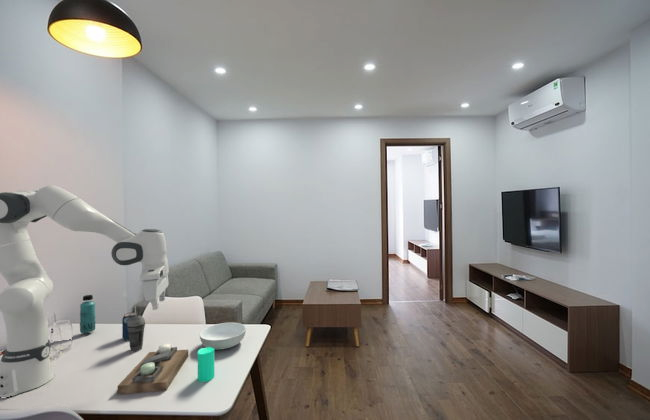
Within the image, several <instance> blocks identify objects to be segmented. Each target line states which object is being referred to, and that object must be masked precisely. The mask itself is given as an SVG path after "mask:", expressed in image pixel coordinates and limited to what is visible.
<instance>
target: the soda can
mask: <svg viewBox="0 0 650 420" xmlns="http://www.w3.org/2000/svg"><path fill="white" fill-rule="evenodd" d="M136 315H139V314H138V312H137V311H136ZM133 316H135V311H132V312H131V311H130V312H128V313H125V314H124V315H123V317H122V322H121V323H122V327H121V329H122V330H121V331H122V334H121V335H122V338H123V340H124V341H129V333H128V329H127V324H128V321H129V319H130V318H132V317H133Z"/></svg>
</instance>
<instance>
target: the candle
mask: <svg viewBox="0 0 650 420" xmlns="http://www.w3.org/2000/svg"><path fill="white" fill-rule="evenodd" d="M214 378H215V349H214V348H211V347H202V348H201V347H200V349H198V351H197V381H198V382H199V383H200V382H201V383H205V382H206V383H207V382H209V381H212V380H213V379H214Z"/></svg>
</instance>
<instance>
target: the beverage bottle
mask: <svg viewBox="0 0 650 420" xmlns="http://www.w3.org/2000/svg"><path fill="white" fill-rule="evenodd" d="M82 297H83V298H82V301H84V302H82V303H81V304H80V305H79V308H80V310H79V332H80V333H81V334H86V333H87V334H88V333H91V332H95V330H96V317H97V316H96V302H95V301H93V299H94V297H93V294H86V295H83V296H82Z"/></svg>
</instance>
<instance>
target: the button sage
mask: <svg viewBox="0 0 650 420" xmlns="http://www.w3.org/2000/svg"><path fill="white" fill-rule="evenodd" d="M154 371H155V363H153V362H150V363H146V364H143V365H142V366H141V375H149V374H152V373H153V372H154Z"/></svg>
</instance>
